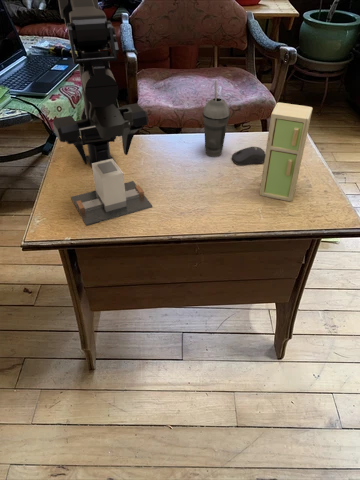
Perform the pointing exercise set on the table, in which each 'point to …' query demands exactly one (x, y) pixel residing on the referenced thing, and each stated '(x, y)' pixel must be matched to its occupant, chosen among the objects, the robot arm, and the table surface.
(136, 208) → the rail
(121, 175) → the rail module
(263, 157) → the computer mouse
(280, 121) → the toy refrigerator
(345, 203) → the table surface
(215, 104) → the beverage cup
